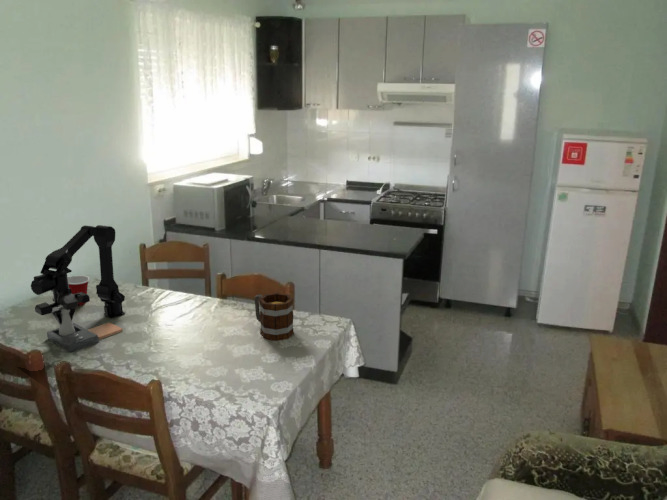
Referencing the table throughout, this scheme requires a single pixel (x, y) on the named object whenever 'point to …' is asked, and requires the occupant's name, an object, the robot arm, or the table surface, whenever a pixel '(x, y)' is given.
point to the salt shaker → (65, 323)
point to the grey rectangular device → (73, 338)
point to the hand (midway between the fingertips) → (65, 323)
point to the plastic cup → (78, 284)
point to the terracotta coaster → (105, 330)
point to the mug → (275, 315)
